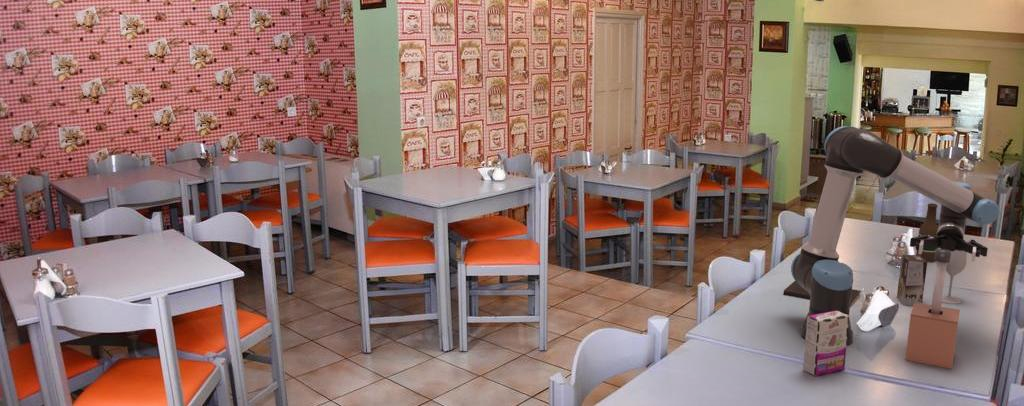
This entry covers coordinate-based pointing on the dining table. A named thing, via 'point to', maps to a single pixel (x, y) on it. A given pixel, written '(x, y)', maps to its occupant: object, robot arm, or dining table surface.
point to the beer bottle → (929, 232)
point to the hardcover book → (802, 293)
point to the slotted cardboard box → (932, 335)
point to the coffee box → (911, 279)
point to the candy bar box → (825, 343)
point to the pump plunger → (939, 278)
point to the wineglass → (954, 272)
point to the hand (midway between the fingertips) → (946, 253)
